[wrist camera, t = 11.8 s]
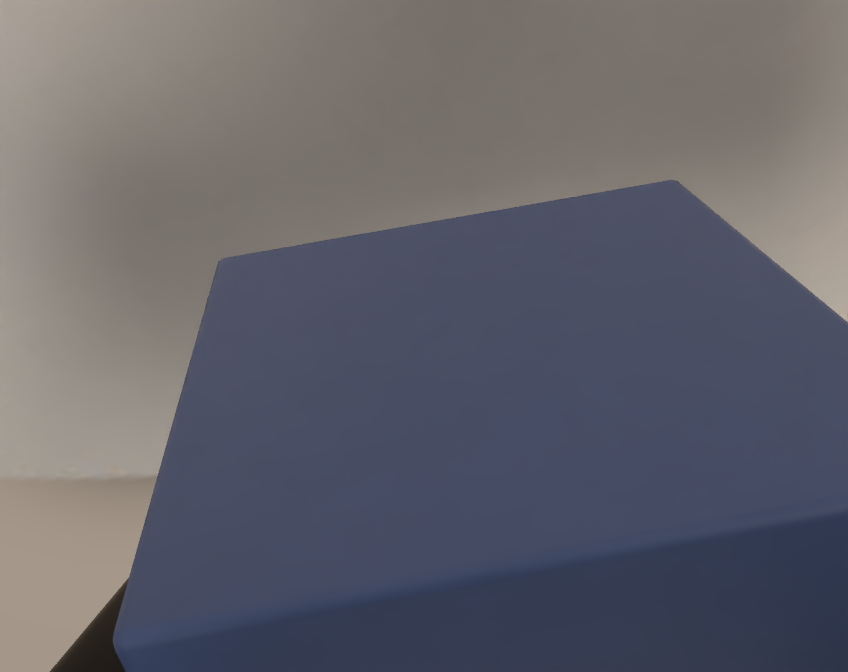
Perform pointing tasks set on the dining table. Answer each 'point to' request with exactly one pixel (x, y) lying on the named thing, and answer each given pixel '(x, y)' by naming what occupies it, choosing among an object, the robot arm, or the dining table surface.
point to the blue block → (505, 455)
